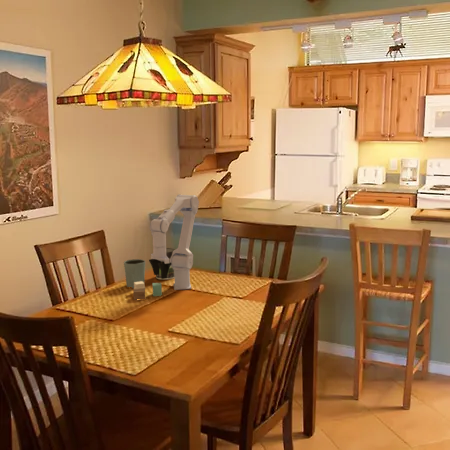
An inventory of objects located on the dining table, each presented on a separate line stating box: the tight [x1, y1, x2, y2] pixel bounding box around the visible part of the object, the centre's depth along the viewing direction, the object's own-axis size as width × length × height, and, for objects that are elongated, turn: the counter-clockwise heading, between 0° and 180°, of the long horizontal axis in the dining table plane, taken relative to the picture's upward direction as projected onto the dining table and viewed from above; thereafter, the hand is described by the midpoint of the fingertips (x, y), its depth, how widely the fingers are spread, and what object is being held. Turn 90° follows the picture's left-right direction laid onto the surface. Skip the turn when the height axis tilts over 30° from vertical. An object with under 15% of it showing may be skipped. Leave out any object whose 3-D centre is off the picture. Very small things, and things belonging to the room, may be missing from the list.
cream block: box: [133, 281, 146, 290], centre depth 253 cm, size 4×4×5 cm
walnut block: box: [132, 287, 146, 301], centre depth 245 cm, size 5×5×4 cm
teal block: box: [152, 282, 163, 297], centre depth 250 cm, size 4×4×5 cm
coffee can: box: [155, 247, 176, 281], centre depth 278 cm, size 10×10×14 cm
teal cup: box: [123, 258, 146, 289], centre depth 265 cm, size 10×10×12 cm
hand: (160, 276), depth 243 cm, fingers open, 7 cm apart
